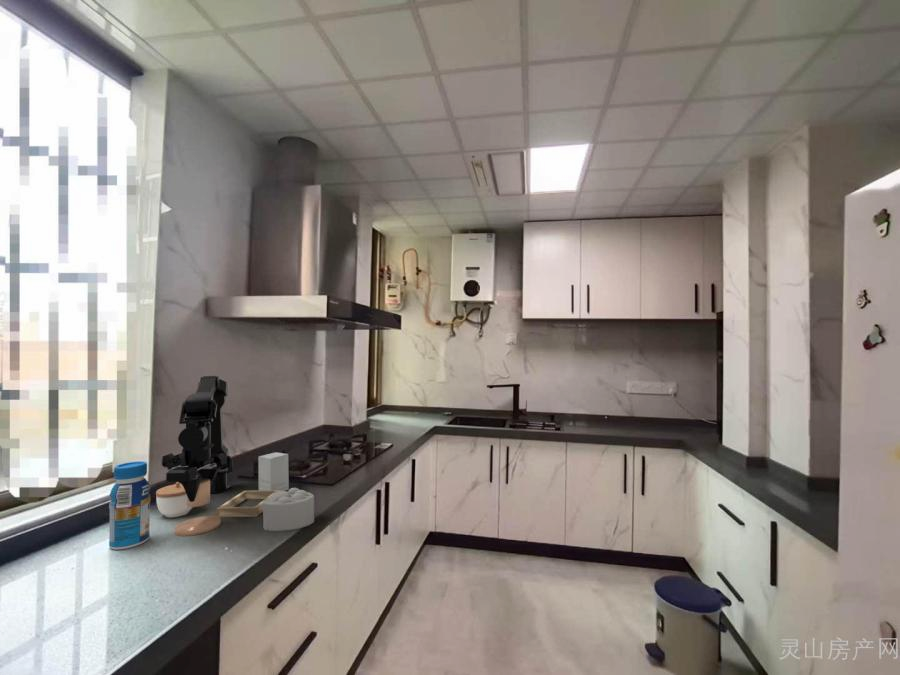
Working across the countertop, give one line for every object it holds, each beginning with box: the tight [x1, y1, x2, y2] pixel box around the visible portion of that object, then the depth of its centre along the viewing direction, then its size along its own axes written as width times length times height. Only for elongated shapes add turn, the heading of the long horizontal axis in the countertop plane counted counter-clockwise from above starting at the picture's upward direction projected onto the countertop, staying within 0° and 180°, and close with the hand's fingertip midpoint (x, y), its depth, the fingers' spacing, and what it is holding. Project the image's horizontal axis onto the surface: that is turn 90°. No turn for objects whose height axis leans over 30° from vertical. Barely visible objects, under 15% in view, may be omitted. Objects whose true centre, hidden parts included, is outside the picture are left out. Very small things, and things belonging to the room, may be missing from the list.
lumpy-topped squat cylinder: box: [262, 487, 315, 532], centre depth 115 cm, size 10×13×9 cm
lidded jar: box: [155, 482, 193, 519], centre depth 124 cm, size 11×11×9 cm
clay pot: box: [187, 479, 211, 508], centre depth 114 cm, size 6×6×6 cm
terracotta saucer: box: [173, 515, 222, 537], centre depth 113 cm, size 11×11×1 cm
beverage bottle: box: [108, 460, 152, 551], centre depth 105 cm, size 8×8×20 cm
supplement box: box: [257, 451, 290, 492], centre depth 143 cm, size 7×7×13 cm
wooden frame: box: [215, 490, 279, 518], centre depth 128 cm, size 16×12×2 cm
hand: (198, 497), depth 114 cm, fingers closed on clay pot, 5 cm apart
